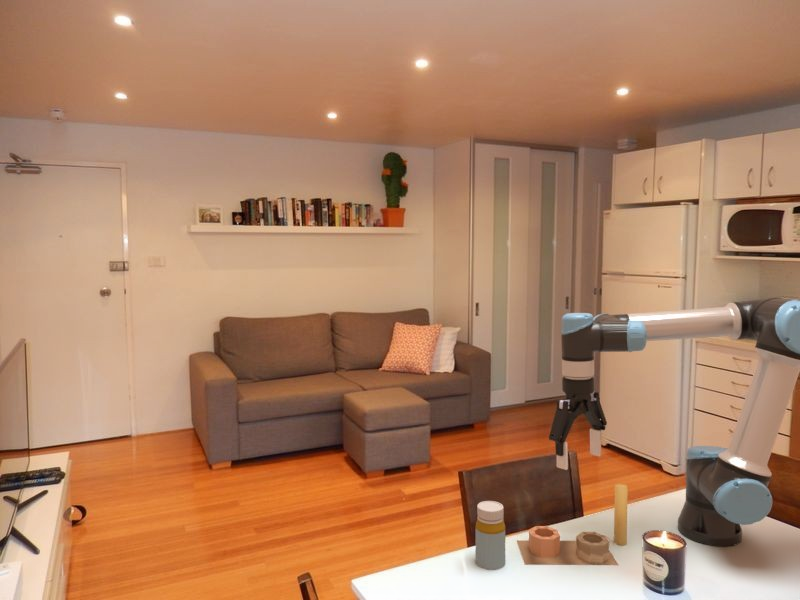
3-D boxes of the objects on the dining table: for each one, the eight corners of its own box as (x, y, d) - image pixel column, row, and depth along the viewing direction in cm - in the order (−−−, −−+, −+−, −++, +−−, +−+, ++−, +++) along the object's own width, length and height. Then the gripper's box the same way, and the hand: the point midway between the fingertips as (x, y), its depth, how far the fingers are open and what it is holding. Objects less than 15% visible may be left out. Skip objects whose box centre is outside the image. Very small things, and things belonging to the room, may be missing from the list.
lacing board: (603, 545, 153) (603, 540, 153) (618, 569, 142) (618, 564, 141) (516, 544, 154) (516, 540, 154) (524, 569, 142) (524, 564, 142)
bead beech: (602, 549, 149) (602, 531, 149) (611, 563, 142) (611, 545, 142) (574, 549, 149) (574, 531, 149) (581, 563, 142) (581, 545, 142)
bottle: (507, 562, 146) (507, 502, 145) (502, 576, 139) (502, 514, 138) (478, 557, 148) (478, 498, 147) (472, 572, 141) (472, 510, 140)
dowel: (624, 544, 154) (625, 483, 153) (628, 550, 151) (629, 488, 150) (612, 544, 154) (613, 483, 153) (616, 550, 151) (617, 488, 150)
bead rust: (555, 543, 152) (555, 526, 152) (561, 557, 145) (561, 539, 145) (527, 543, 153) (527, 526, 152) (532, 557, 146) (532, 539, 145)
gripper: (594, 367, 157) (595, 446, 159) (532, 382, 142) (534, 469, 143) (620, 370, 151) (621, 453, 153) (558, 387, 136) (560, 478, 138)
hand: (579, 461), depth 148 cm, fingers open, 13 cm apart
